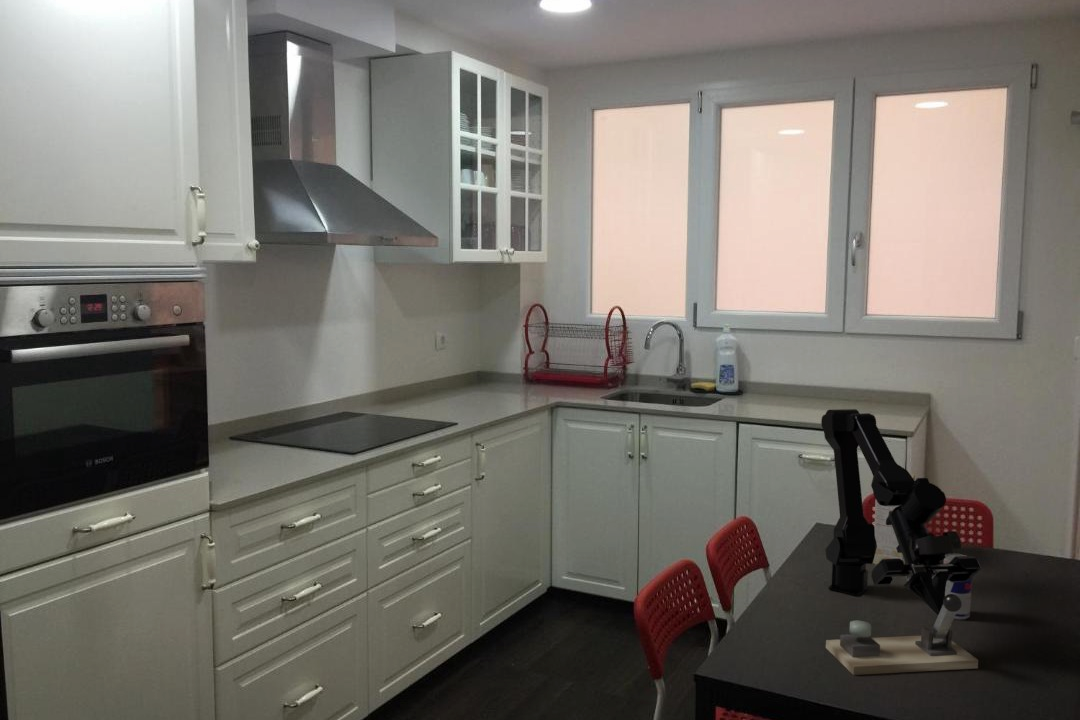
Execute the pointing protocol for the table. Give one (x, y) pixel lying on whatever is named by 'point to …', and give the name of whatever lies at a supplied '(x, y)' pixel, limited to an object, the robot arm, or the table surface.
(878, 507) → the cream box
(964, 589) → the energy drink
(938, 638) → the toggle lever
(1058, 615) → the table surface
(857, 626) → the push button
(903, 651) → the switch board
